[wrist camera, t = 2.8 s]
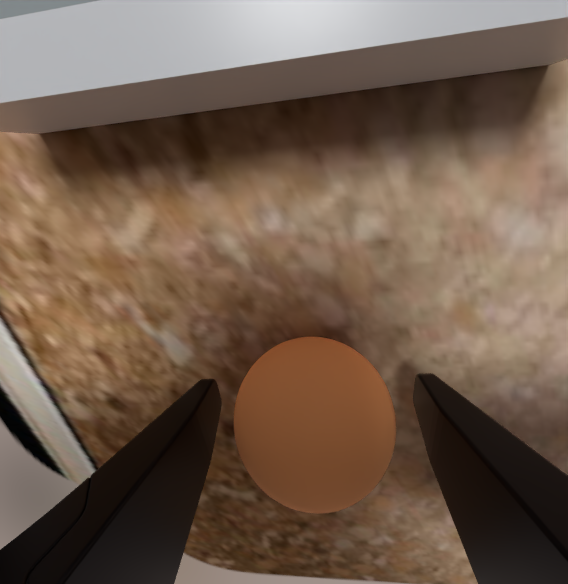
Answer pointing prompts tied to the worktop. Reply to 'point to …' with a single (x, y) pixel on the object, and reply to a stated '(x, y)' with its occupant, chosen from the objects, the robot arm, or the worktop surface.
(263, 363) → the ball
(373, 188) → the worktop surface
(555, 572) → the robot arm
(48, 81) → the wall
